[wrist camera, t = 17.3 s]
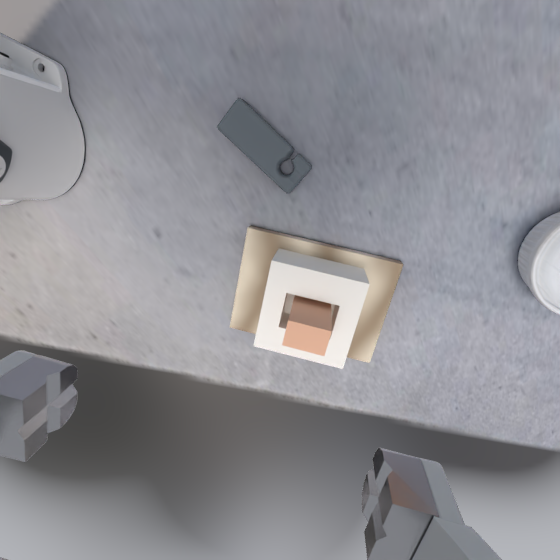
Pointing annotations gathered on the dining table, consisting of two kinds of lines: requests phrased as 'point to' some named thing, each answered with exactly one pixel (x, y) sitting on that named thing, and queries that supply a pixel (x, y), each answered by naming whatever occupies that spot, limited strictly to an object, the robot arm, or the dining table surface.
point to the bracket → (262, 145)
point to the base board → (267, 243)
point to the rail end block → (308, 325)
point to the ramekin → (543, 262)
